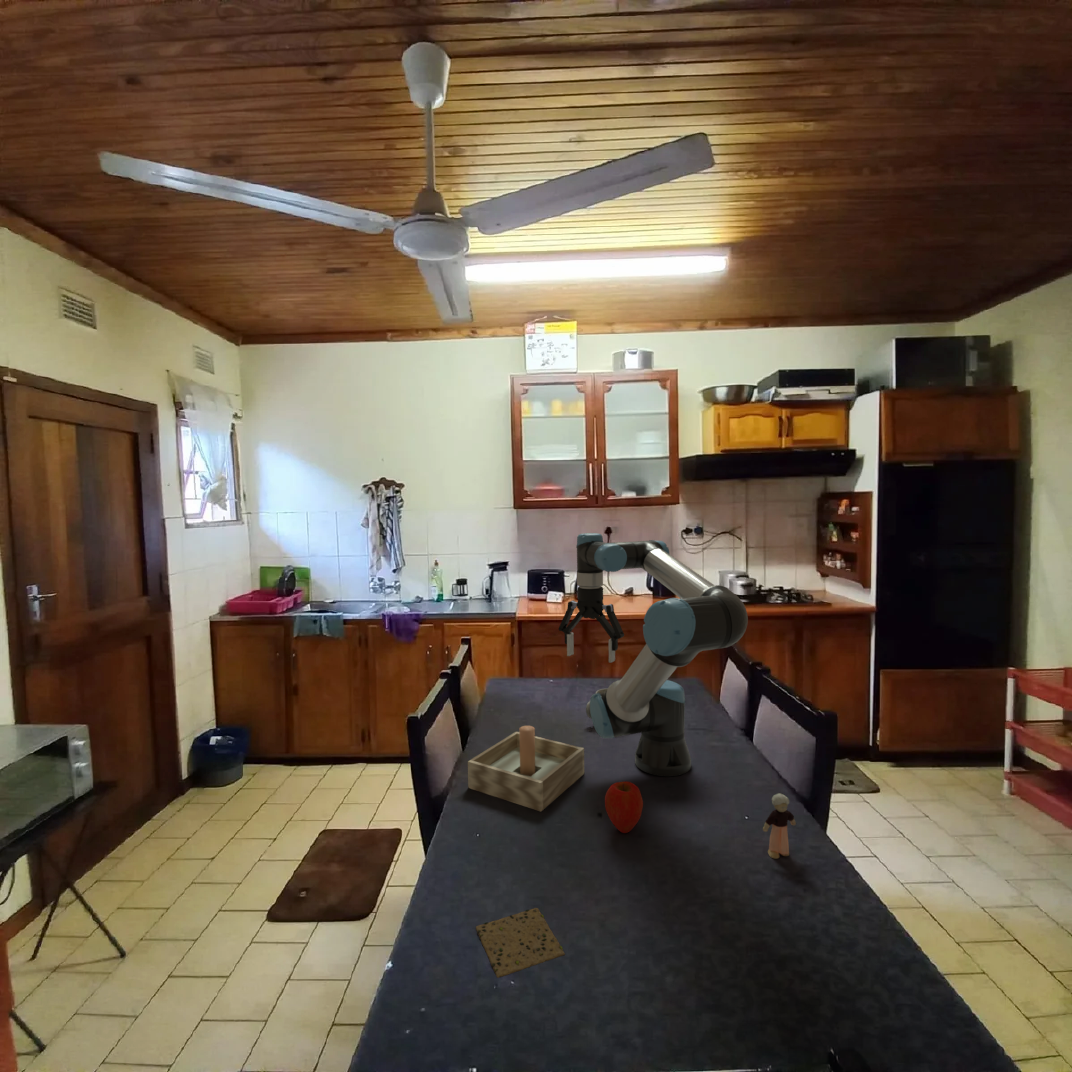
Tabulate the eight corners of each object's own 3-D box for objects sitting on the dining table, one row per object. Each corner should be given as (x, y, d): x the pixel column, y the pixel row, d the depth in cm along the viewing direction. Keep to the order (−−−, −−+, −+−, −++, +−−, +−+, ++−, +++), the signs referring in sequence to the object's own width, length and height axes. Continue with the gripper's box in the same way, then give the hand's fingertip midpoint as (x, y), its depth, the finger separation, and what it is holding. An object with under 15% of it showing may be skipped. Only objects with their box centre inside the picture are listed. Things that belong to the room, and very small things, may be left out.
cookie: (497, 982, 91) (497, 976, 91) (474, 929, 102) (474, 923, 102) (566, 957, 96) (566, 952, 96) (537, 909, 107) (537, 904, 107)
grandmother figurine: (774, 863, 118) (775, 803, 117) (759, 853, 122) (760, 794, 121) (800, 852, 122) (801, 793, 121) (785, 843, 125) (786, 785, 124)
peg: (538, 779, 155) (537, 727, 154) (530, 785, 151) (529, 733, 150) (525, 775, 157) (524, 724, 156) (517, 781, 153) (516, 729, 152)
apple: (620, 815, 137) (620, 770, 136) (651, 830, 131) (651, 783, 130) (597, 830, 131) (596, 783, 130) (628, 846, 125) (627, 797, 124)
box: (584, 773, 157) (584, 748, 157) (541, 811, 139) (540, 783, 138) (516, 755, 169) (516, 731, 169) (468, 787, 151) (467, 761, 150)
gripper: (635, 587, 167) (635, 660, 169) (559, 581, 180) (560, 649, 182) (624, 591, 161) (624, 667, 162) (546, 585, 174) (547, 655, 176)
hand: (590, 658), depth 172 cm, fingers open, 13 cm apart
